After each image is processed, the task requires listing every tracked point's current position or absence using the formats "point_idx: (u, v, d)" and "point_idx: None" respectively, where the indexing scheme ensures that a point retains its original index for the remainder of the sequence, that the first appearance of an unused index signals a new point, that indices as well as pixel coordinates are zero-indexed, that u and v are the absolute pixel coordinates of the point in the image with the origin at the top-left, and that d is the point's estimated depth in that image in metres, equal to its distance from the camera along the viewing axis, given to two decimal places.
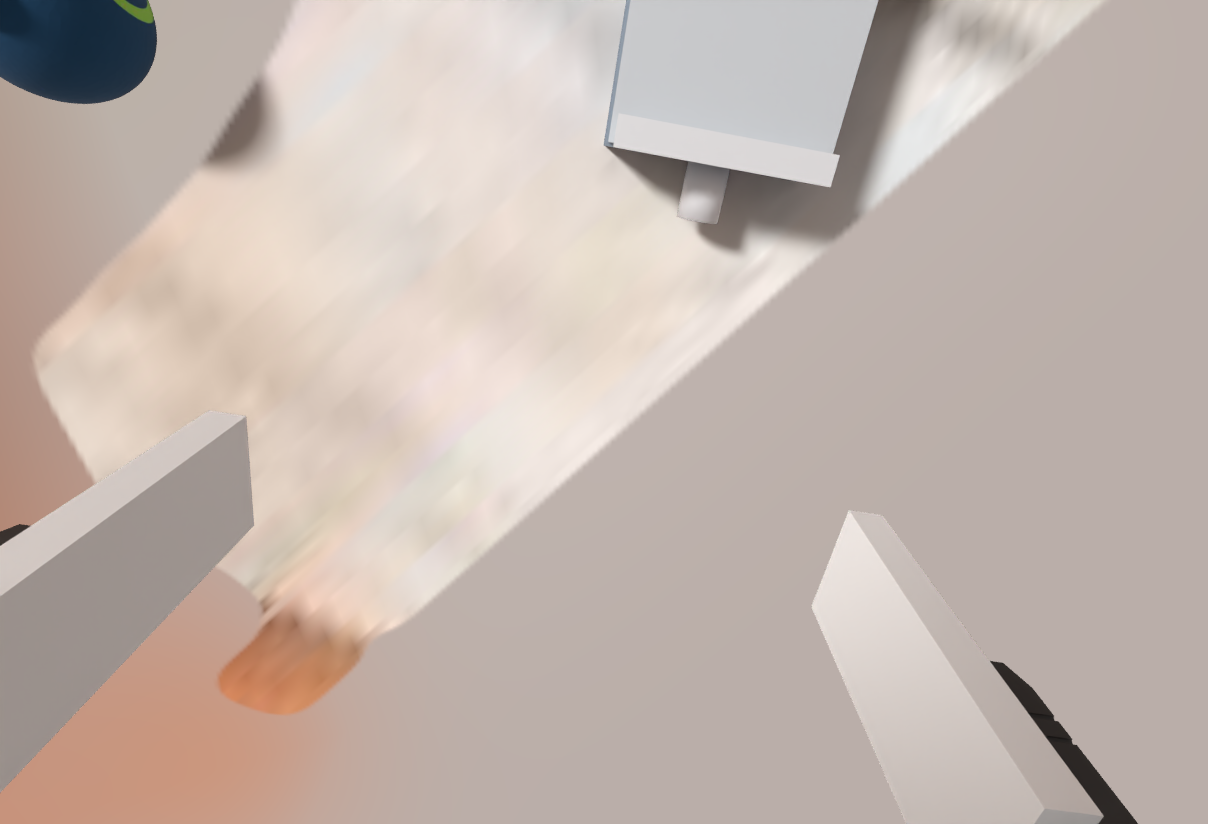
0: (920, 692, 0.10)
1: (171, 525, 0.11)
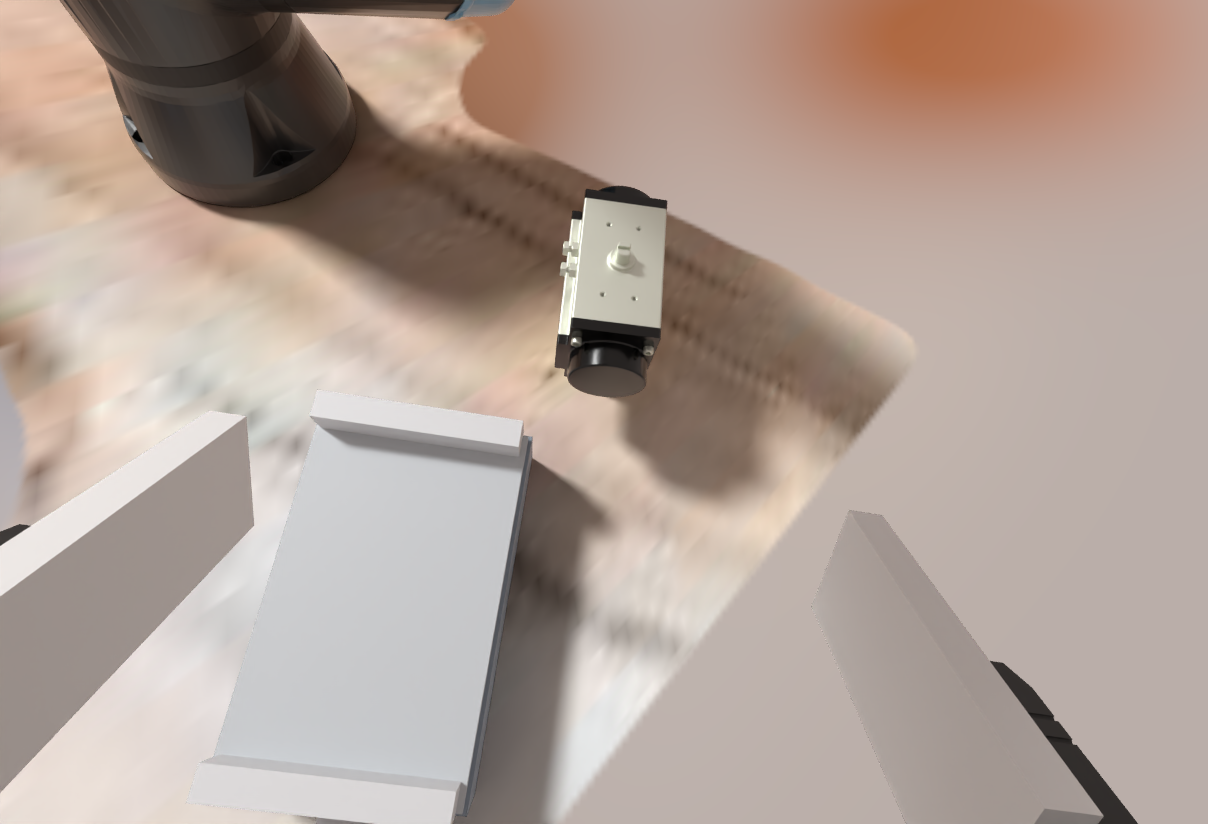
0: (920, 692, 0.10)
1: (171, 525, 0.11)
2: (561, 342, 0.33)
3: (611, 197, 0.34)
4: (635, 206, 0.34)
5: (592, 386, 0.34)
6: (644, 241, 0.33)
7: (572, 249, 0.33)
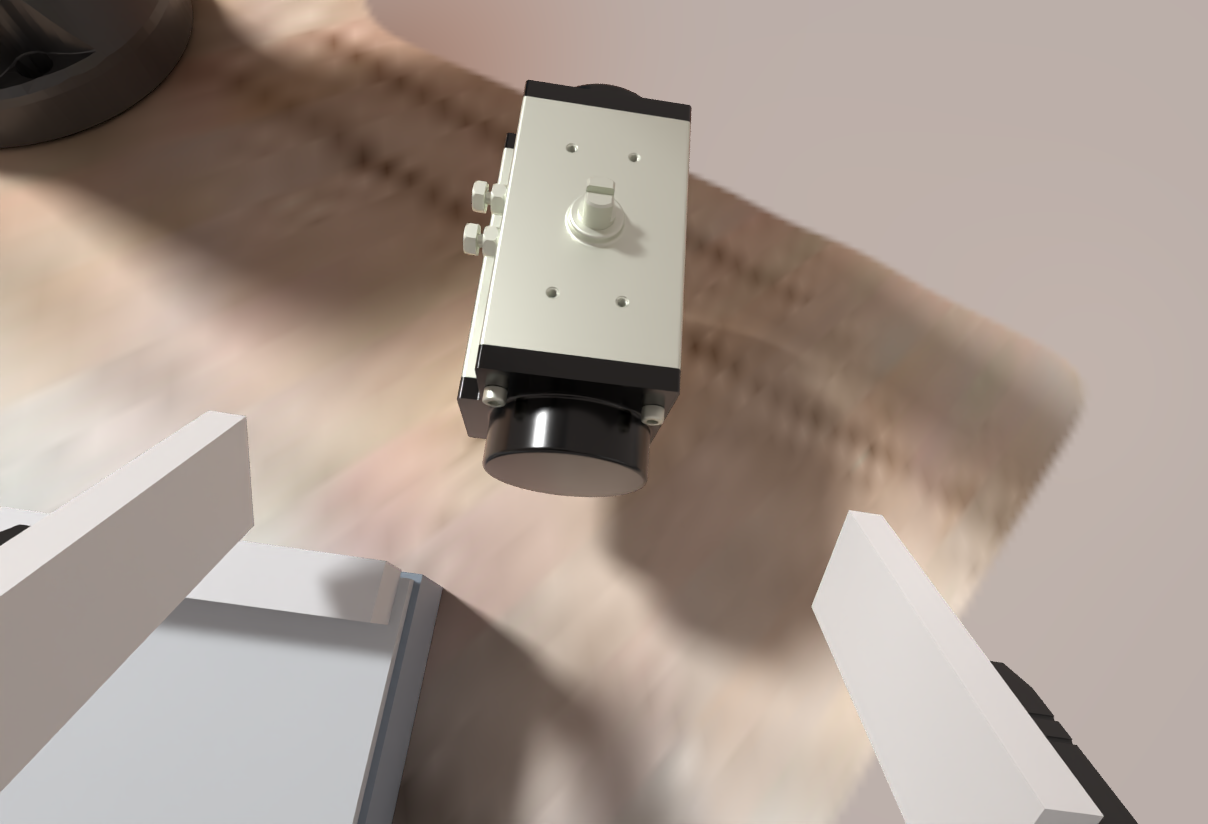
0: (920, 692, 0.10)
1: (171, 525, 0.11)
2: (467, 395, 0.15)
3: (578, 96, 0.17)
4: (627, 115, 0.17)
5: (537, 481, 0.17)
6: (645, 183, 0.16)
7: (492, 197, 0.15)
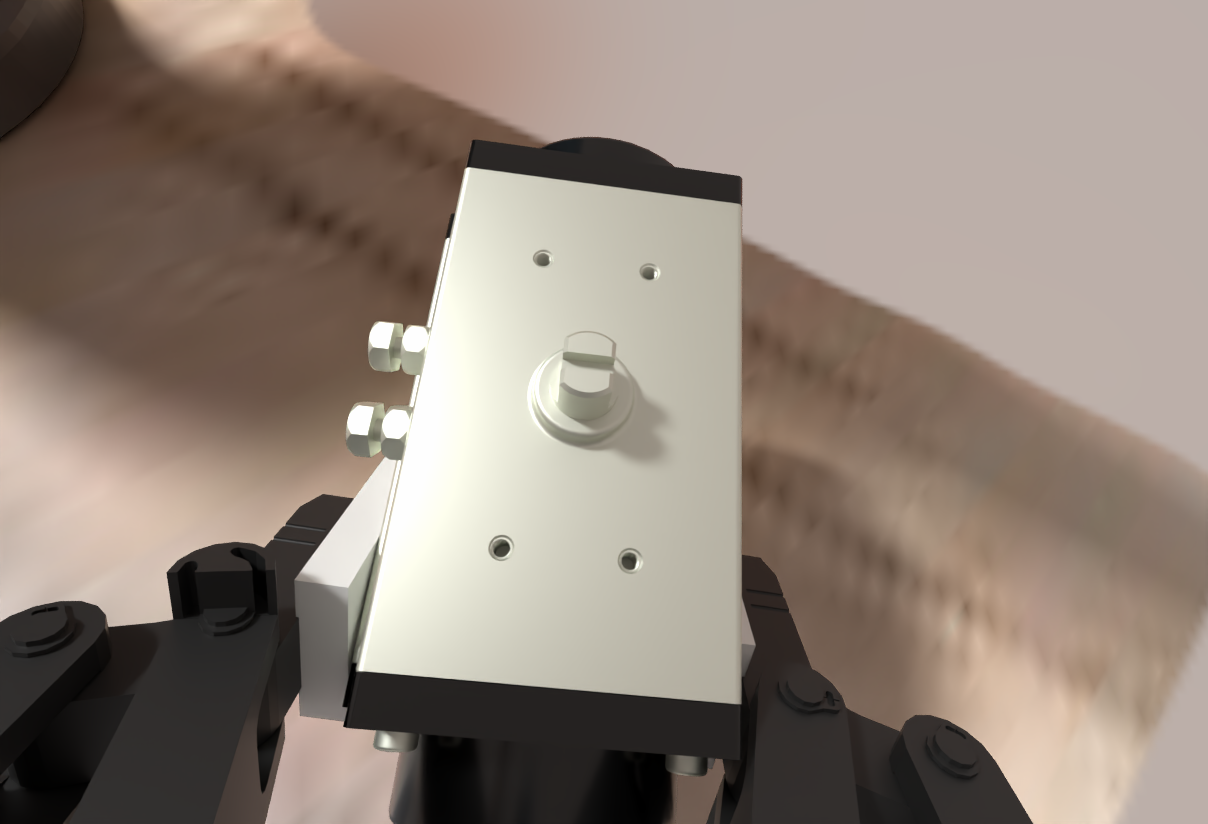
0: None
1: None
2: None
3: (556, 166, 0.10)
4: (637, 196, 0.10)
5: None
6: (668, 320, 0.09)
7: (403, 353, 0.09)
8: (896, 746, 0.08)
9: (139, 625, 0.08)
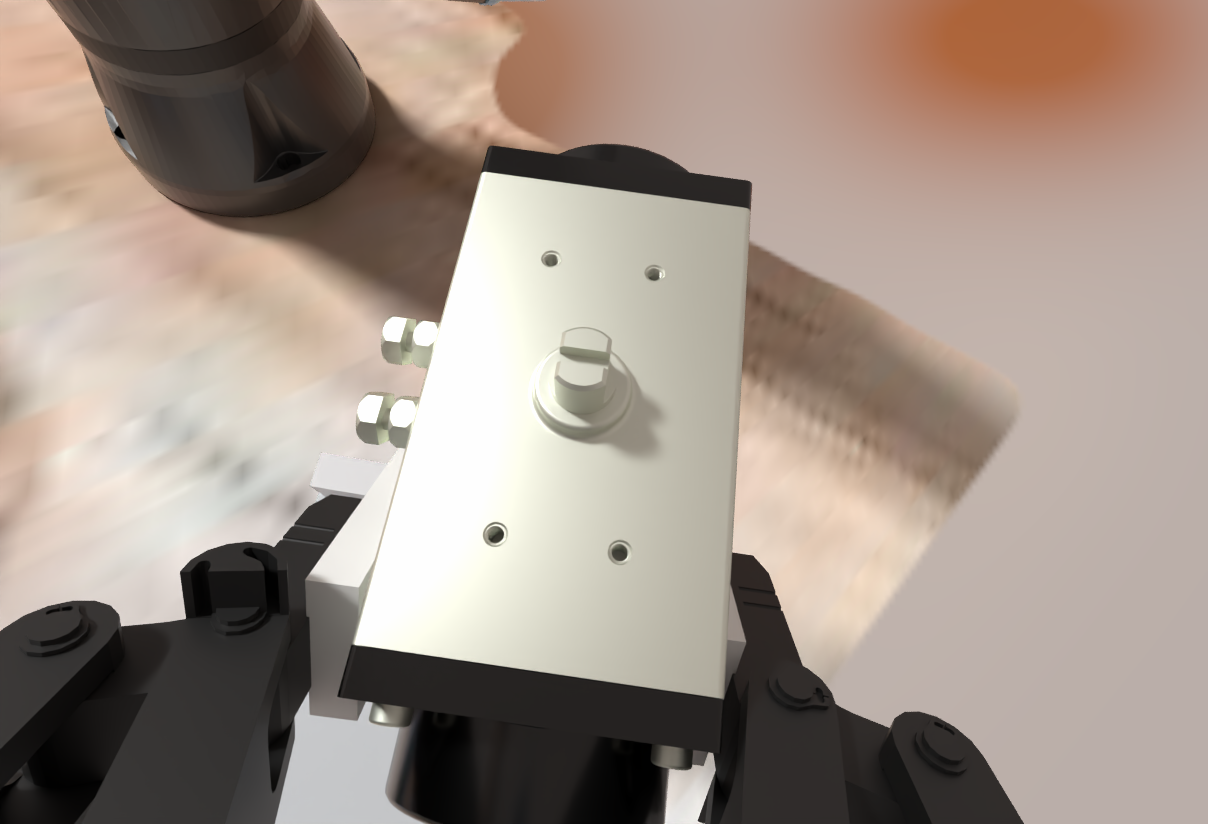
0: None
1: None
2: None
3: (568, 171, 0.10)
4: (646, 199, 0.10)
5: None
6: (670, 319, 0.09)
7: (414, 346, 0.09)
8: (885, 743, 0.08)
9: (151, 624, 0.08)
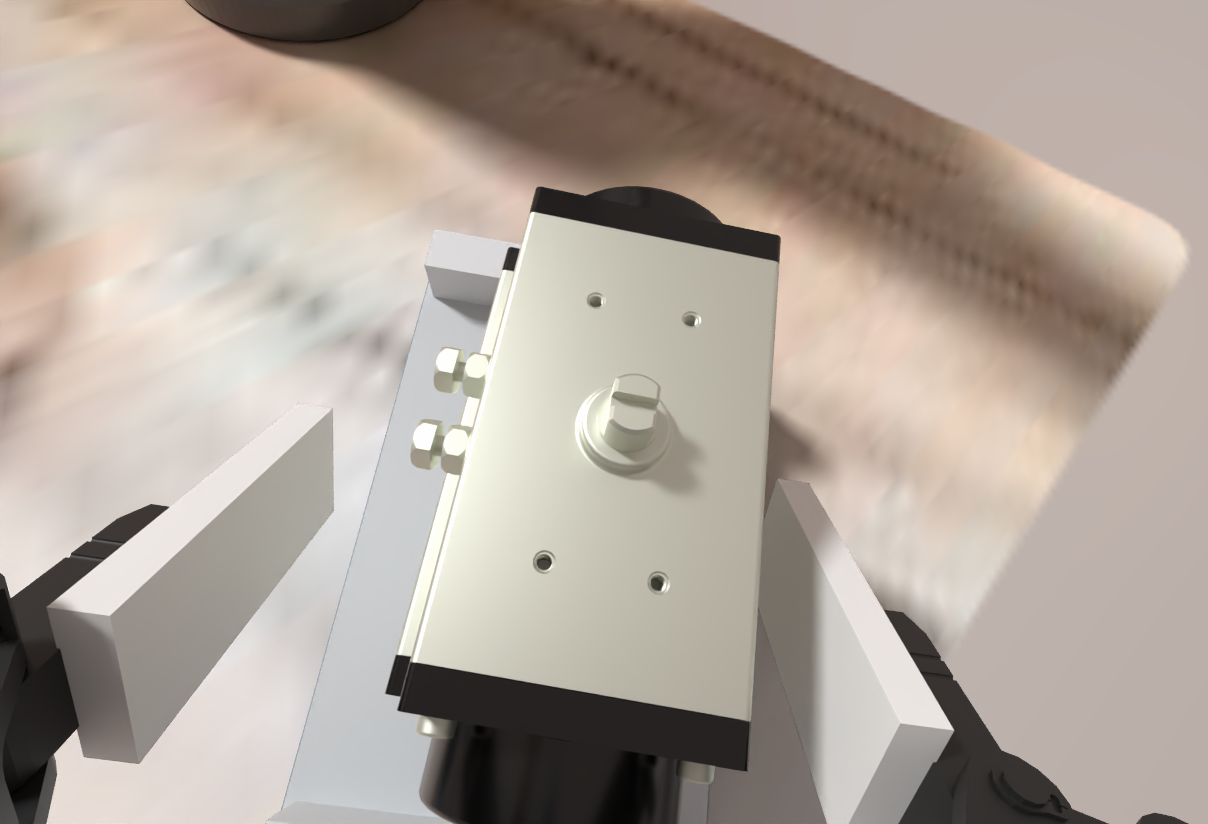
0: (820, 636, 0.11)
1: (278, 507, 0.12)
2: (400, 690, 0.10)
3: (612, 216, 0.11)
4: (684, 248, 0.11)
5: None
6: (706, 364, 0.10)
7: (465, 377, 0.10)
8: None
9: None
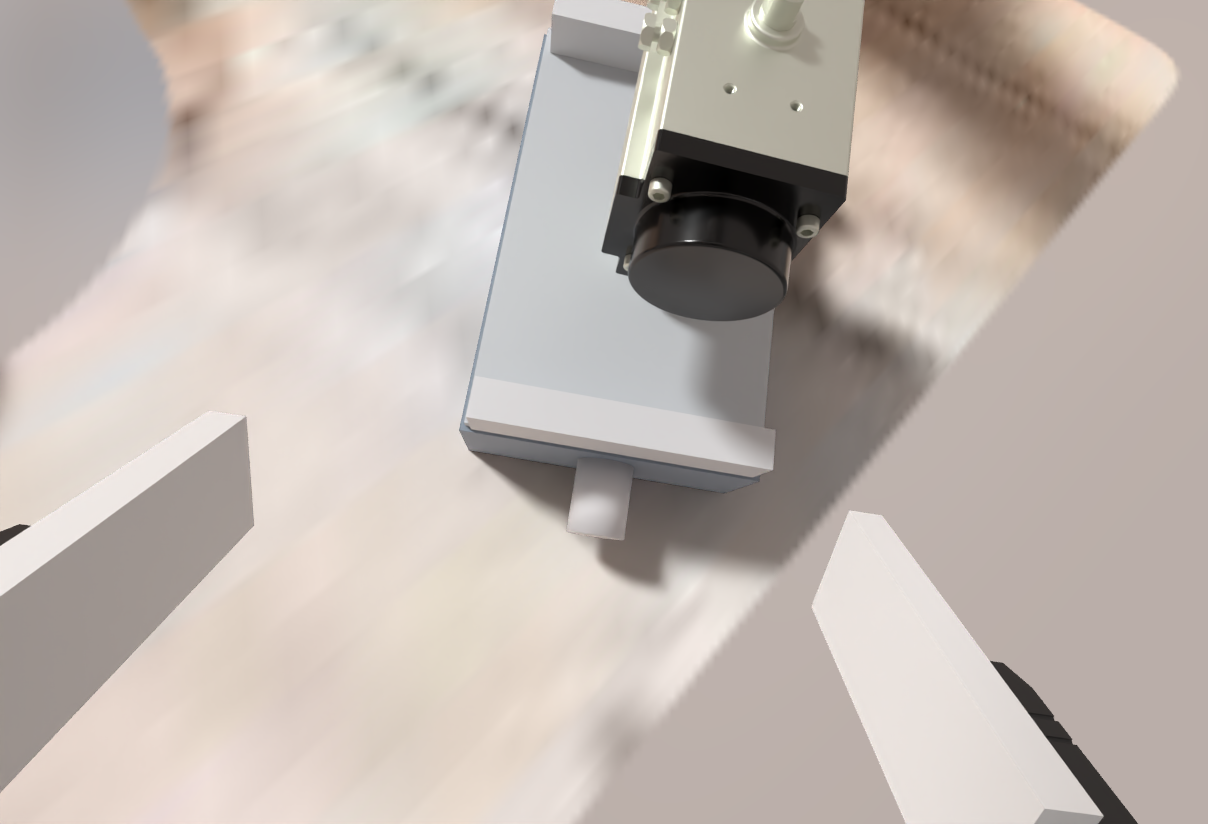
0: (920, 692, 0.10)
1: (171, 525, 0.11)
2: (625, 192, 0.16)
3: None
4: None
5: (673, 294, 0.17)
6: None
7: None
8: None
9: None
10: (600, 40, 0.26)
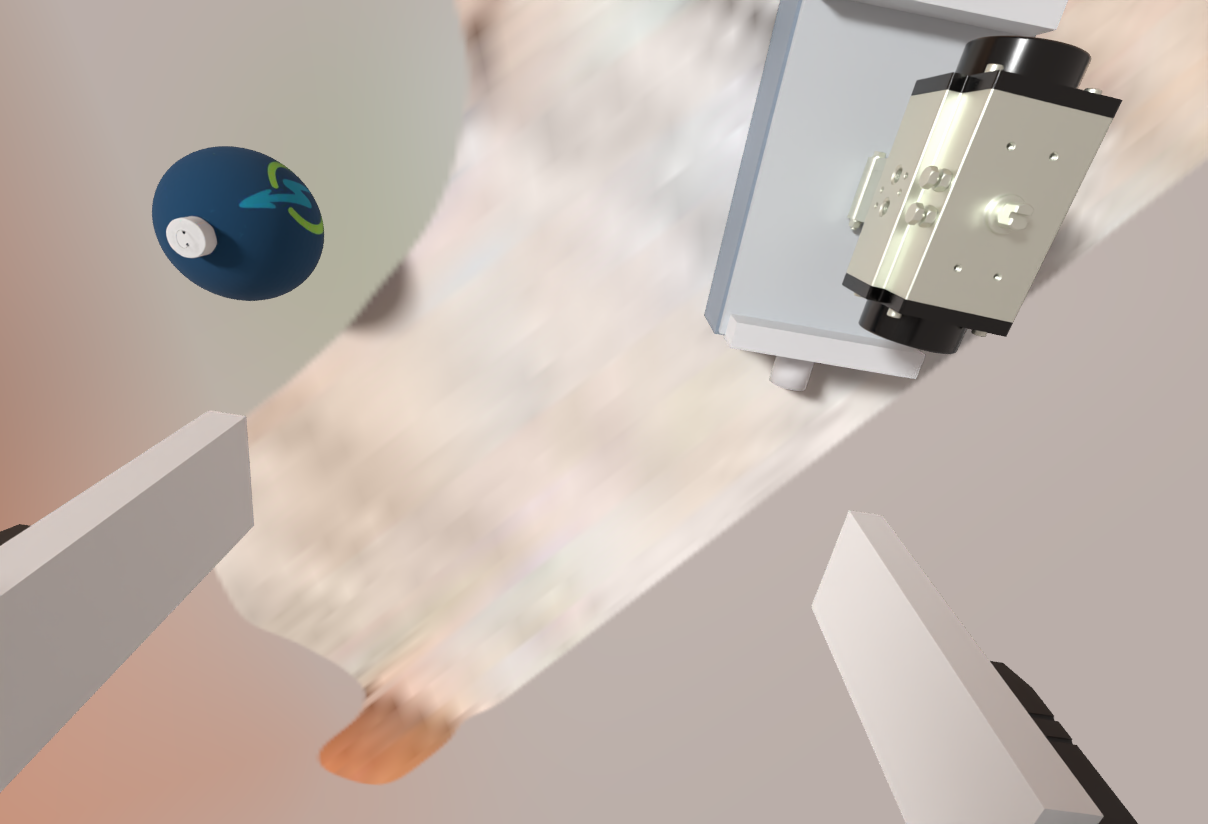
0: (920, 692, 0.10)
1: (171, 525, 0.11)
2: (872, 298, 0.26)
3: (1035, 90, 0.21)
4: (1066, 111, 0.22)
5: None
6: (1051, 181, 0.22)
7: (939, 186, 0.23)
8: None
9: None
10: None
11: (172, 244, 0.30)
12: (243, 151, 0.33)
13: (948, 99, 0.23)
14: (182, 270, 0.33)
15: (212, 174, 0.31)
